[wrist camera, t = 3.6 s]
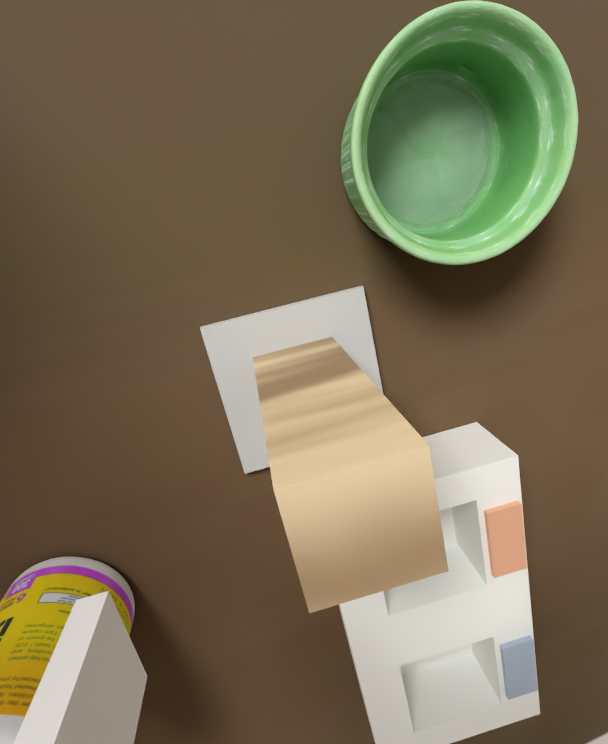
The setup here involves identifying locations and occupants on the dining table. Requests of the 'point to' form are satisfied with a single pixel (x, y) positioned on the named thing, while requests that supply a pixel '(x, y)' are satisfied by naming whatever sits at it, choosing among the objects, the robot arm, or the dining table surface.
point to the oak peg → (346, 477)
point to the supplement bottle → (45, 625)
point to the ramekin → (461, 134)
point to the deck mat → (273, 333)
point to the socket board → (454, 610)
